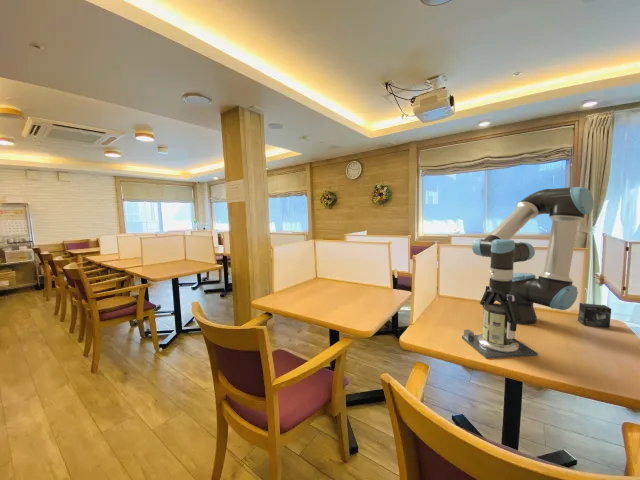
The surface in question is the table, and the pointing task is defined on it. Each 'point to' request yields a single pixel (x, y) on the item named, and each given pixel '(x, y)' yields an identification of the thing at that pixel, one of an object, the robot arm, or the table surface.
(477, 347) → the flange plate
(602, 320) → the box
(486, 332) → the coffee can
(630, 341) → the table surface
